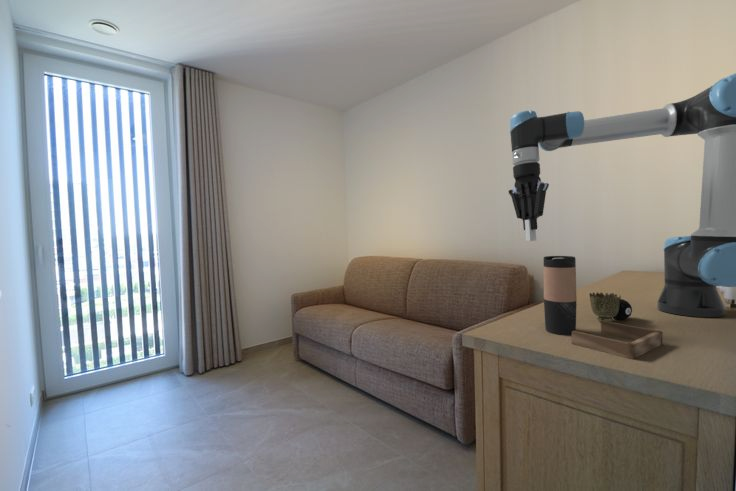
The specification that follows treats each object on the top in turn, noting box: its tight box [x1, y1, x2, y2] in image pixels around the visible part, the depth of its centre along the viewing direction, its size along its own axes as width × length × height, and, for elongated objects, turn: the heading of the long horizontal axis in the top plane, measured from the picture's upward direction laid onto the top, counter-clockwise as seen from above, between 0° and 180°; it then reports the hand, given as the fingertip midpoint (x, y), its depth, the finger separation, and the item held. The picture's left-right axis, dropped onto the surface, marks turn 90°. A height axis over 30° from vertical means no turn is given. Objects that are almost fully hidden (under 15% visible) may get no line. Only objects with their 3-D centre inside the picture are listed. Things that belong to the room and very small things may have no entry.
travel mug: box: [543, 255, 578, 336], centre depth 92 cm, size 8×8×20 cm
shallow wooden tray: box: [571, 321, 663, 360], centre depth 81 cm, size 15×12×3 cm
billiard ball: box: [612, 298, 633, 321], centre depth 101 cm, size 6×6×6 cm
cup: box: [588, 292, 622, 323], centre depth 99 cm, size 8×7×8 cm
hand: (531, 240), depth 106 cm, fingers closed
